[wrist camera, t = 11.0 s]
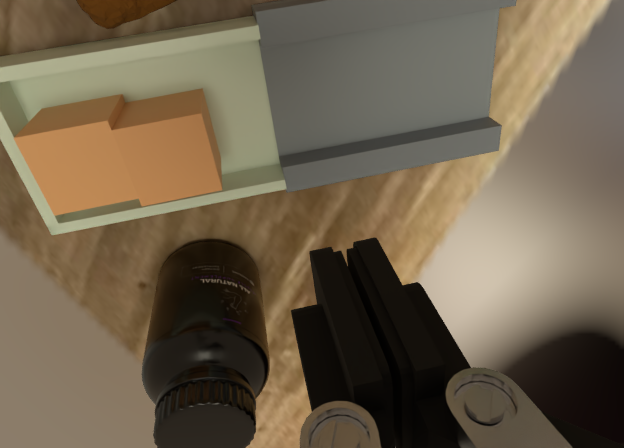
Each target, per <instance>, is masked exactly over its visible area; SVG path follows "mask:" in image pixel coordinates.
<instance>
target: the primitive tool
mask: <svg viewBox="0 0 624 448" xmlns="http://www.w3.org/2000/svg"><path fill="white" fill-rule="evenodd" d="M174 1H176V0H77V2H78V4H79V5H80V7H81V8H82V10H83V11H85V12H86V13H88V14H89V16H90V17H91V19H92V20H93V21H94V22H95V23H96V24H98V25H100V26H102V27H105V28H107V29H109V28H115V27H117V26H119V25H121V24H123V23H126V22H130V21H133V20H137V19H140V18H142V17H144V16H145V15H147V14H149V13H151V12H153V11H156V10H158V9H160V8H163V7H165V6H167V5H169V4H171V3H173V2H174Z"/></svg>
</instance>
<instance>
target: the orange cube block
mask: <svg viewBox="0 0 624 448" xmlns="http://www.w3.org/2000/svg"><path fill="white" fill-rule="evenodd" d="M124 104H125V100H124V97H123V95H122V94H119V95H113V96H108V97H102V98H97V99H91V100H86V101H81V102H75V103H70V104H64V105H59V106H53V107H48V108H42V109H41V110H40V111H39V112H38V113H37V114H36V115H35V116H34V117H33V118H32V119H31V120H30V121H29V122H28V123H27V124H26V126H25V127H24V128H23V129H22V130H21V131H20V132H19V133H18V134H17V135H16V136H15V137H14V140H15V142H16V144H17V146H18V148H19V150H20V152H21V154H22V155H23V157H24V159H25V161H26V163H27V165H28V167H29V169H30V171H31V173H32V174H33V176H34V178H35V180H36V182H37V184H38V186H39V188H40V190H41V191H42V193H43V195H44V197H45V199H46V201H47V203H48V205H49V207H50V208H51V210H52V212H53V214H54V216H55V215H60V214H65V213H70V212H75V211H80V210H85V209H90V208H95V207H100V206H105V205H110V204H115V203H120V202H125V201H129V200H134V199H139V198H138V196H137V193H136V191H135V188H134V186H133V183H132V181H131V178H130V176H129V173H128V171H127V168H126V166H125V163H124V161H123V158H122V156H121V153H120V151H119V148H118V145H117V143H116V140H115V138H114V135H113V133H112V128H113V126H114V124H115V122H116V120H117V118H118V116H119V114H120V112H121V110H122V108H123V106H124Z"/></svg>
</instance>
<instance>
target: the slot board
mask: <svg viewBox="0 0 624 448" xmlns="http://www.w3.org/2000/svg"><path fill="white" fill-rule="evenodd" d="M251 6H252V11H253V16H254V18H255V20H256V22H257V24H258V26H259V32H260V38H261V39H259V46H260V52H261V57H262V63H263V69H264V75H265V80H266V86H267V92H268V97H269V103H270V109H271V115H272V120H273V126H274V132H275V138H276V143H277V149H278V155H279V160H280V165H281V168H282V172H283V175H284V178H285V183H286V192H292V191H297V190H302V189H307V188H312V187H317V186H322V185H327V184H333V183H338V182H343V181H348V180H353V179H358V178H363V177H368V176H373V175H378V174H383V173H388V172H393V171H398V170H403V169H408V168H413V167H418V166H423V165H428V164H434V163H439V162H444V161H449V160H454V159H459V158H464V157H469V156H474V155H479V154H484V153H489V152H494V151H499V144H500V135H501V127H502V125H500V124H499V123H497V122H496V121H494V120H493V119H491V118H490V117H489V108H490V98H491V88H492V78H493V68H494V58H495V48H496V38H497V28H498V18H499V8H504V7H510V6H516V0H279V1H273V2H267V3H261V4H254V5H251Z"/></svg>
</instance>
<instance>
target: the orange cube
mask: <svg viewBox="0 0 624 448" xmlns="http://www.w3.org/2000/svg"><path fill="white" fill-rule="evenodd" d="M112 133H113V135H114V138H115V140H116V143H117V145H118V148H119V151H120V153H121V156H122V158H123V161H124V163H125V166H126V168H127V171H128V173H129V176H130V178H131V181H132V183H133V186H134V188H135V191H136V193H137V196H138V198H139V201H140V204H141V206H147V205H152V204H157V203H162V202H167V201H172V200H177V199H182V198H186V197H191V196H196V195H201V194H206V193H211V192H216V191H221V190H222V171H221V156H220V152H219V149H218V145H217V141H216V137H215V133H214V130H213V126H212V122H211V118H210V114H209V111H208V107H207V103H206V99H205V96H204V92H203V88H202V89H197V90H191V91H186V92H180V93H175V94H169V95H164V96H159V97H153V98H148V99H142V100H137V101H132V102H126V103H125V104H124V106H123V108H122V110H121V112H120V114H119V116H118V118H117V120H116V122H115V124H114V126H113V128H112Z"/></svg>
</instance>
